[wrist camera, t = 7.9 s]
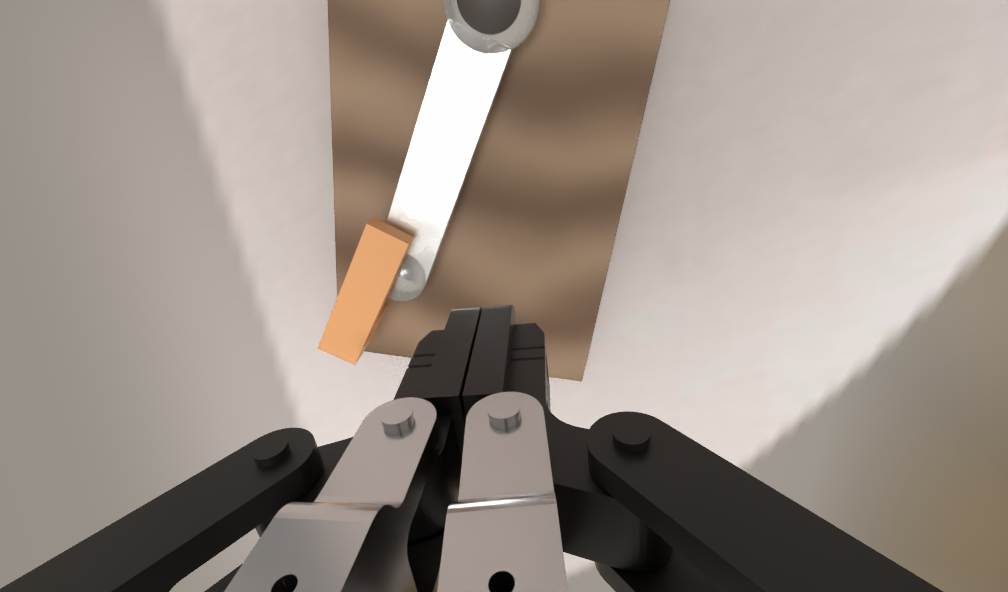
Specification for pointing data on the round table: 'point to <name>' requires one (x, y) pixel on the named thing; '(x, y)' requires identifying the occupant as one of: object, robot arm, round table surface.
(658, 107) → the round table surface
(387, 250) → the block
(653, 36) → the base plate
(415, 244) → the lever
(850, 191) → the round table surface
